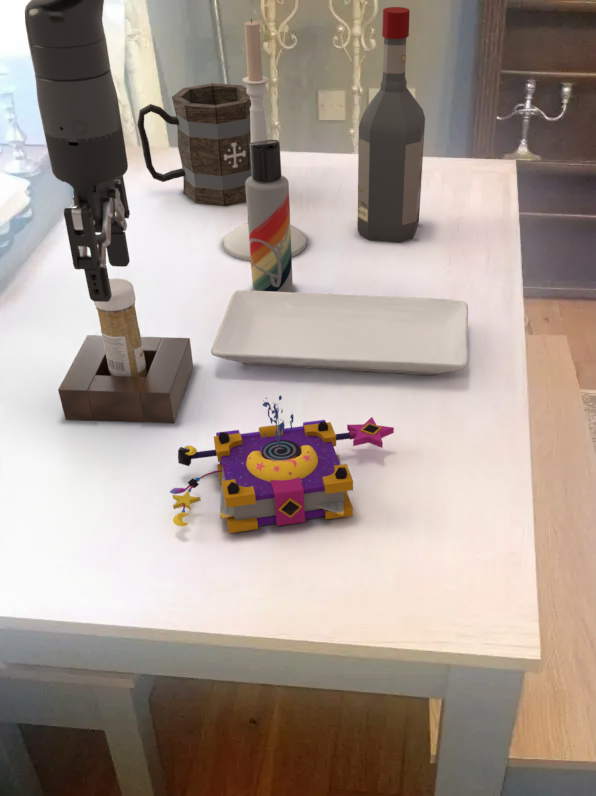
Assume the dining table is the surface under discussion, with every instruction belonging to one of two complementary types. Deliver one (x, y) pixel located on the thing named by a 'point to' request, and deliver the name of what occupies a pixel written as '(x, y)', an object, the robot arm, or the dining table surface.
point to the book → (279, 473)
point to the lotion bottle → (269, 219)
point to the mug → (208, 142)
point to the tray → (344, 332)
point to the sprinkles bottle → (121, 331)
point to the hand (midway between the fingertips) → (111, 282)
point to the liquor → (391, 145)
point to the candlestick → (256, 140)
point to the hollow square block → (127, 383)
